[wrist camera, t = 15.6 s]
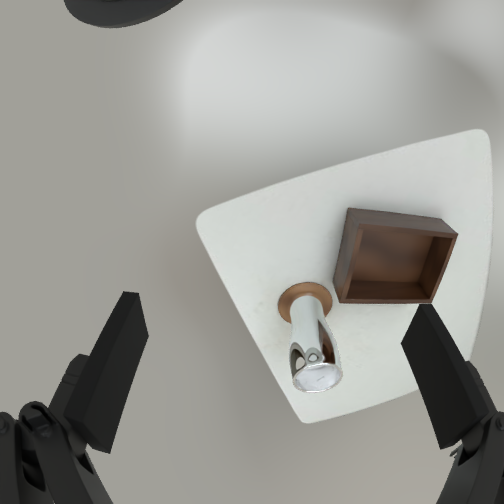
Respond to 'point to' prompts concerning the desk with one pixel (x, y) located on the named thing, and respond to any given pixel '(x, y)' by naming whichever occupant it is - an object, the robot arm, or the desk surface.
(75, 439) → the robot arm
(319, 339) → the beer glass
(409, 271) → the crate
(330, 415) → the desk surface
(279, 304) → the coaster
